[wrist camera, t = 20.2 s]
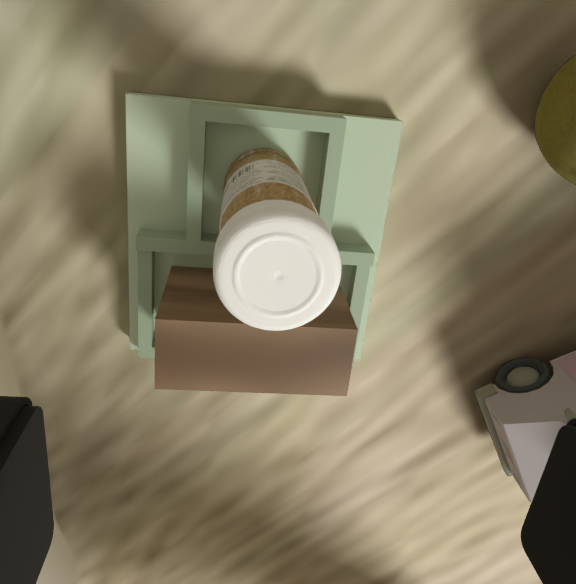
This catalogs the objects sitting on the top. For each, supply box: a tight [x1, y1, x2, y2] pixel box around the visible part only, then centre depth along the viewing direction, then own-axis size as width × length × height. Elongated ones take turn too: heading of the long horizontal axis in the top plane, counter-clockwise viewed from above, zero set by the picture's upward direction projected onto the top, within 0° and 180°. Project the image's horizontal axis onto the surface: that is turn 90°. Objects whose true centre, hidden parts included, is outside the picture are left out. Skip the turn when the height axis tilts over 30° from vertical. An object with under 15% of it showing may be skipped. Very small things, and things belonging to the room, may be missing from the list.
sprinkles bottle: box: [213, 148, 341, 331], centre depth 25 cm, size 5×5×14 cm
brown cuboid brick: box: [155, 266, 358, 396], centre depth 31 cm, size 4×10×7 cm, turn 84°
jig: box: [125, 92, 403, 368], centre depth 32 cm, size 15×15×3 cm
